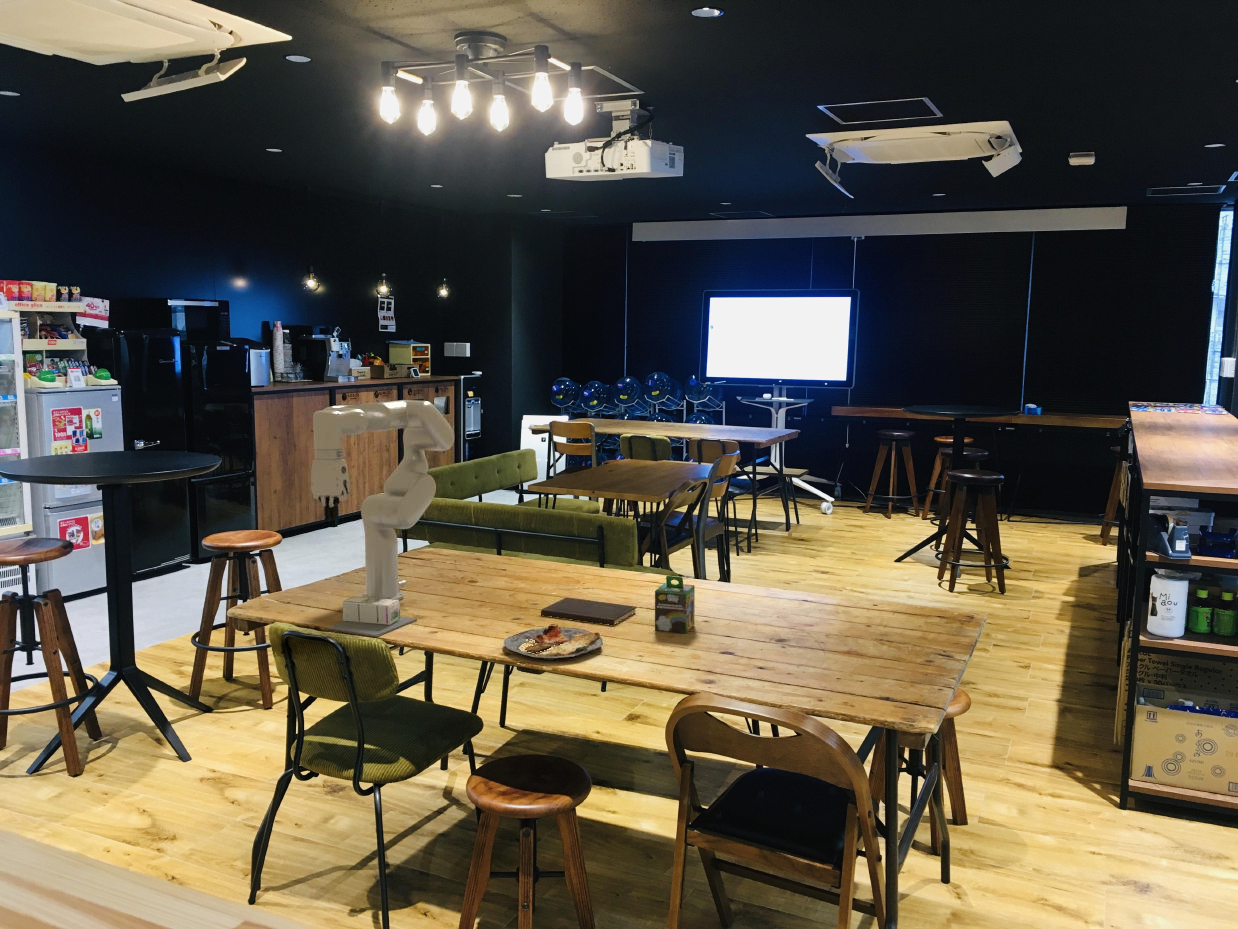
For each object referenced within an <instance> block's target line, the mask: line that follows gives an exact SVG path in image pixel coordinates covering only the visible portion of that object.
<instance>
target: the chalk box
mask: <svg viewBox="0 0 1238 929" xmlns="http://www.w3.org/2000/svg"><path fill="white" fill-rule="evenodd" d="M665 581H666V582H664V583H663V584H662V585H659V586H658V588H657V589H655V590H654V631H659V632H668V633H669V632H670V633H676V634H683V635H686V634H688V632H689V631H690V630H691V629H692V628H693V627H694V626H695V612H696V611H695V600H696V599H695V591H696V590H695V585H694V584H687V583H686V584H684V578H683V577H682V576H677V575H676V576H675V575H673V576H672V575H666V577H665ZM672 581H677V582H678V583H672Z"/></svg>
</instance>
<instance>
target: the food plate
mask: <svg viewBox="0 0 1238 929" xmlns="http://www.w3.org/2000/svg"><path fill="white" fill-rule="evenodd" d="M526 639H528V641H526ZM530 639H532V640H535V643H537V644H536V645H534V644H533V646H532V645H528V647H527V646H526V647H525V648H524V651H523V650H522V649H521V650H522V651H521V650H520V649H519V647H520V646H521V645H522V644H524V643H526V644H527V642H528V643H529V641H532V640H530ZM560 644H562V645H560ZM603 644H604V643H603V639H602V637H601V634H600V632H591V631H588V630H586V629H583V628H575V627H565V626H559V625H558V624H556V625H549V626H547V627H541V628H532V629H527V630H526V631H525V630H524V631H521V632H517V633H515V634H512V635H508V637H506V638H505V639H504V640H503V645H505V648H506V649H508V650H510V651H512V652H513V653H514V652H515V653H517V654H521V655H523V656H529V657H532V658H539V659H544V660H549V661H553V660H554V659H558V658H569V657H575V656H579V655H582V654H585V653H589V652H590V651H593V650H595V649H599V648H600V647H602V646H603ZM554 645H555V646H554ZM551 647H554V648H553V649H551V650H548V651H544V650H547V649H549V648H551ZM525 650H527V652H531V653H536V652H540V651H544V652H540V653H536V654H537V655H536V654H529V653H527V652H526V651H525Z"/></svg>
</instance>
